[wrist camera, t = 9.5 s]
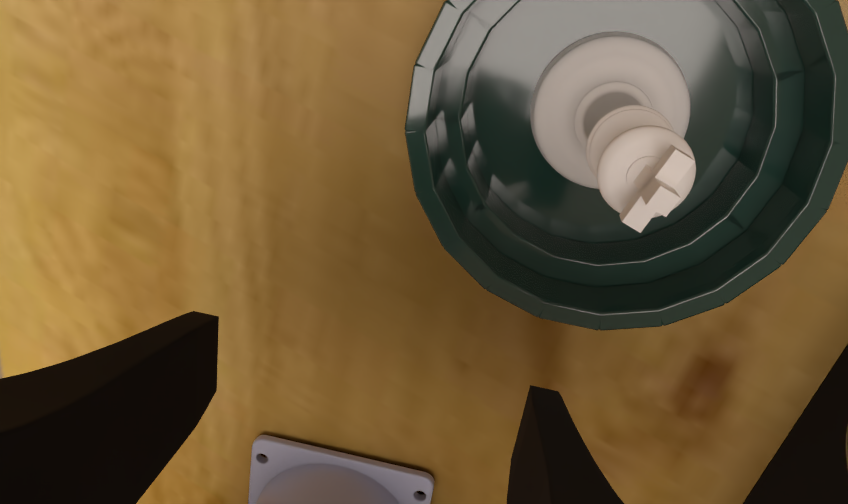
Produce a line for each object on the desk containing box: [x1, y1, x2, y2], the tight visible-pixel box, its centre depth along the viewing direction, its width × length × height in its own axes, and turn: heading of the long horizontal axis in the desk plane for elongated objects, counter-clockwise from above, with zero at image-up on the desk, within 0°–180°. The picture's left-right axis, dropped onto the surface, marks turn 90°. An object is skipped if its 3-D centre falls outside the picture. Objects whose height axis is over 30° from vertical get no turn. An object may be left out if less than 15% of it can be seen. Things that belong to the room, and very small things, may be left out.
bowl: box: [405, 0, 848, 330], centre depth 20 cm, size 12×12×4 cm
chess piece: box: [530, 32, 696, 233], centre depth 17 cm, size 5×5×10 cm
